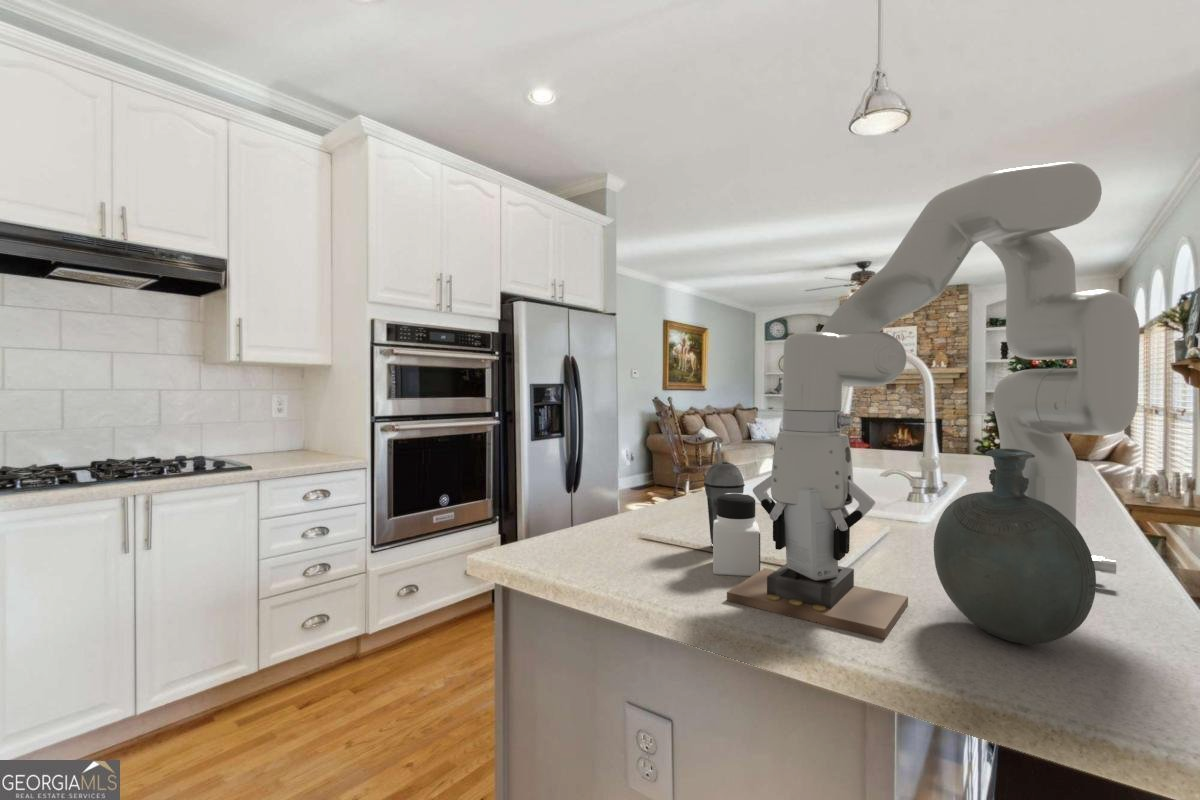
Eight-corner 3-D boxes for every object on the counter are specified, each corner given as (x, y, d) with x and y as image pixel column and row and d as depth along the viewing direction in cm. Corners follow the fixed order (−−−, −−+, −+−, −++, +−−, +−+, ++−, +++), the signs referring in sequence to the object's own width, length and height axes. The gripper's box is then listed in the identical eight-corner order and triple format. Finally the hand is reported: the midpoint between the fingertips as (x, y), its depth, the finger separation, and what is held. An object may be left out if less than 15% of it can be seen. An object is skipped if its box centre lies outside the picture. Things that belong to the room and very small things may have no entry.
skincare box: (840, 577, 79) (839, 487, 78) (812, 582, 77) (811, 491, 76) (808, 563, 84) (807, 480, 84) (782, 567, 83) (781, 483, 82)
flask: (1002, 671, 60) (1005, 459, 60) (918, 608, 77) (919, 442, 77) (1118, 672, 60) (1122, 458, 59) (1008, 608, 77) (1010, 441, 76)
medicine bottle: (760, 577, 90) (760, 499, 90) (713, 574, 91) (712, 498, 91) (757, 563, 97) (757, 491, 97) (713, 561, 98) (713, 490, 98)
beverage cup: (749, 553, 103) (749, 439, 102) (707, 553, 103) (707, 439, 102) (739, 541, 110) (739, 435, 109) (700, 542, 110) (700, 436, 109)
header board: (907, 605, 78) (908, 577, 78) (884, 639, 68) (885, 607, 68) (764, 575, 91) (764, 552, 90) (726, 600, 80) (726, 574, 80)
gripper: (887, 425, 77) (885, 558, 78) (761, 419, 88) (760, 536, 89) (873, 428, 72) (870, 572, 72) (740, 422, 82) (738, 547, 83)
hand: (809, 551), depth 80 cm, fingers closed on skincare box, 7 cm apart
